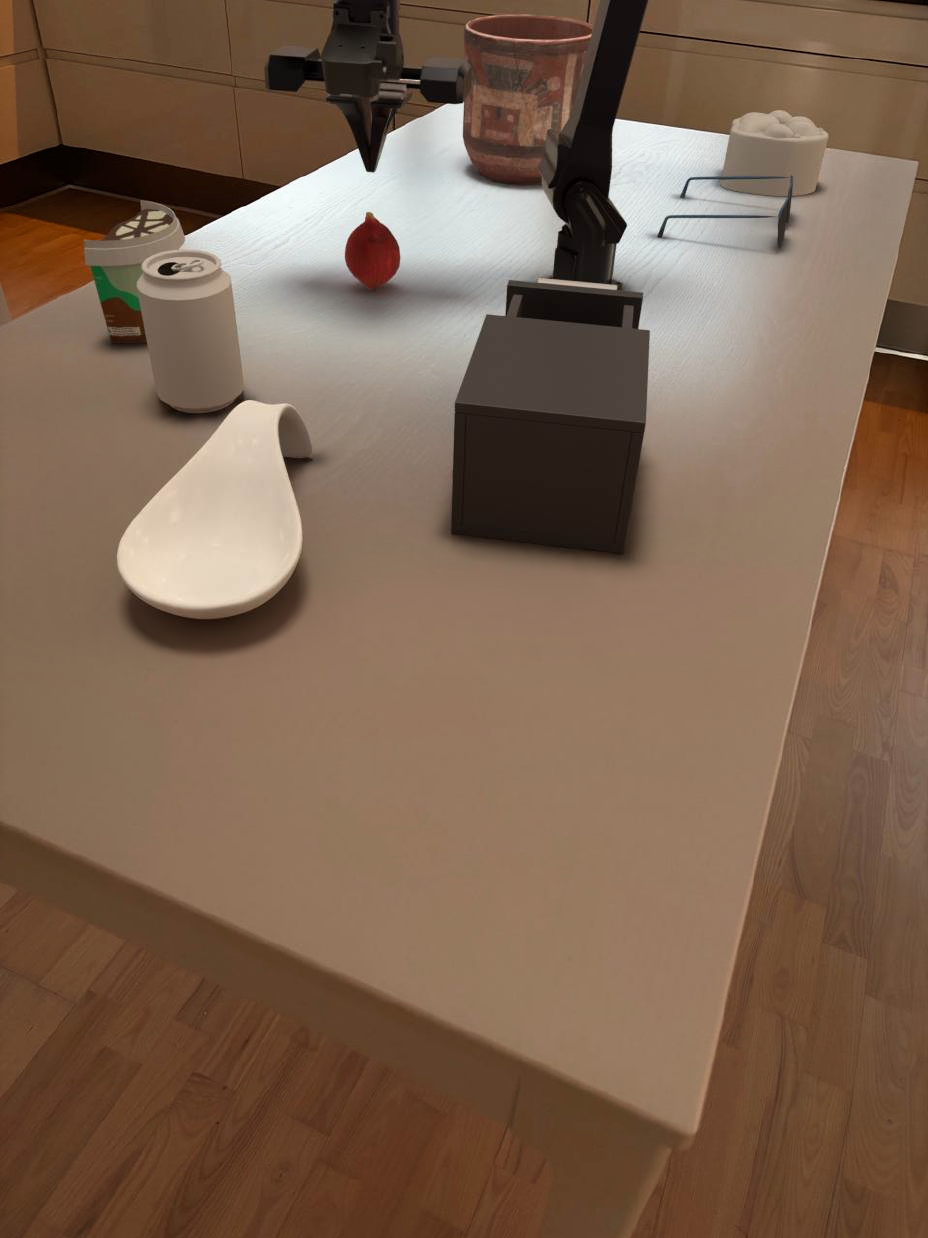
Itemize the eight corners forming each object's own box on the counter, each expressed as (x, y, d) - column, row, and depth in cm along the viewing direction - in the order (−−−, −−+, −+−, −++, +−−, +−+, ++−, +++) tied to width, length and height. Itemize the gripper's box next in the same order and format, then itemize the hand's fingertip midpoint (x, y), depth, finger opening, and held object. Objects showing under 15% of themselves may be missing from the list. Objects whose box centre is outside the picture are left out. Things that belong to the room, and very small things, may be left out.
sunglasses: (779, 255, 118) (784, 212, 115) (656, 253, 122) (657, 211, 119) (792, 211, 130) (796, 171, 127) (679, 211, 135) (681, 172, 132)
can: (164, 377, 89) (140, 243, 82) (248, 376, 90) (233, 243, 82) (151, 418, 84) (124, 278, 76) (241, 417, 84) (224, 278, 76)
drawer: (508, 354, 93) (514, 261, 87) (630, 366, 92) (644, 273, 86) (481, 449, 80) (486, 347, 74) (622, 465, 79) (639, 362, 73)
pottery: (589, 194, 133) (606, 42, 121) (458, 189, 133) (463, 36, 121) (579, 156, 147) (593, 16, 135) (460, 152, 146) (465, 11, 135)
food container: (165, 356, 92) (146, 249, 86) (103, 348, 93) (80, 241, 87) (216, 305, 102) (202, 204, 95) (160, 298, 103) (143, 198, 96)
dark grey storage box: (480, 434, 83) (486, 313, 76) (630, 451, 82) (650, 329, 75) (450, 533, 72) (454, 401, 65) (623, 554, 71) (646, 422, 64)
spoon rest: (283, 655, 62) (272, 563, 57) (99, 638, 62) (74, 546, 58) (353, 459, 80) (349, 377, 75) (210, 447, 80) (197, 365, 76)
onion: (408, 283, 108) (408, 208, 102) (388, 303, 103) (387, 225, 98) (359, 275, 109) (356, 200, 104) (337, 294, 105) (333, 217, 100)
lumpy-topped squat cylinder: (723, 168, 144) (735, 103, 139) (814, 178, 142) (831, 112, 137) (718, 189, 137) (732, 121, 131) (815, 200, 134) (833, 131, 129)
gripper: (236, -7, 83) (255, 187, 93) (455, 8, 81) (450, 205, 91) (275, -26, 91) (289, 154, 102) (475, -12, 90) (468, 170, 100)
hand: (371, 171), depth 98 cm, fingers closed
